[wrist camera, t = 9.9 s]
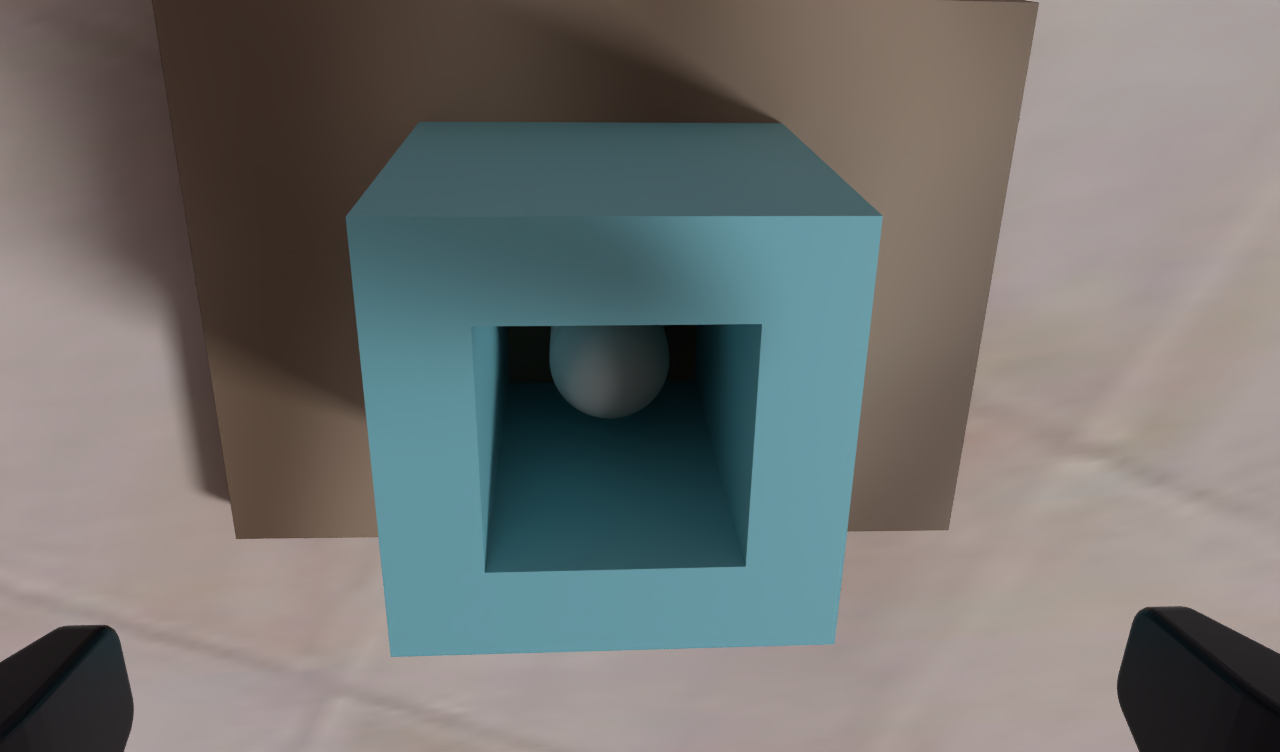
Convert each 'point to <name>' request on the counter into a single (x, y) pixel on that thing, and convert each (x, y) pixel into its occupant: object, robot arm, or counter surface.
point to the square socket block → (620, 447)
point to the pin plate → (577, 92)
